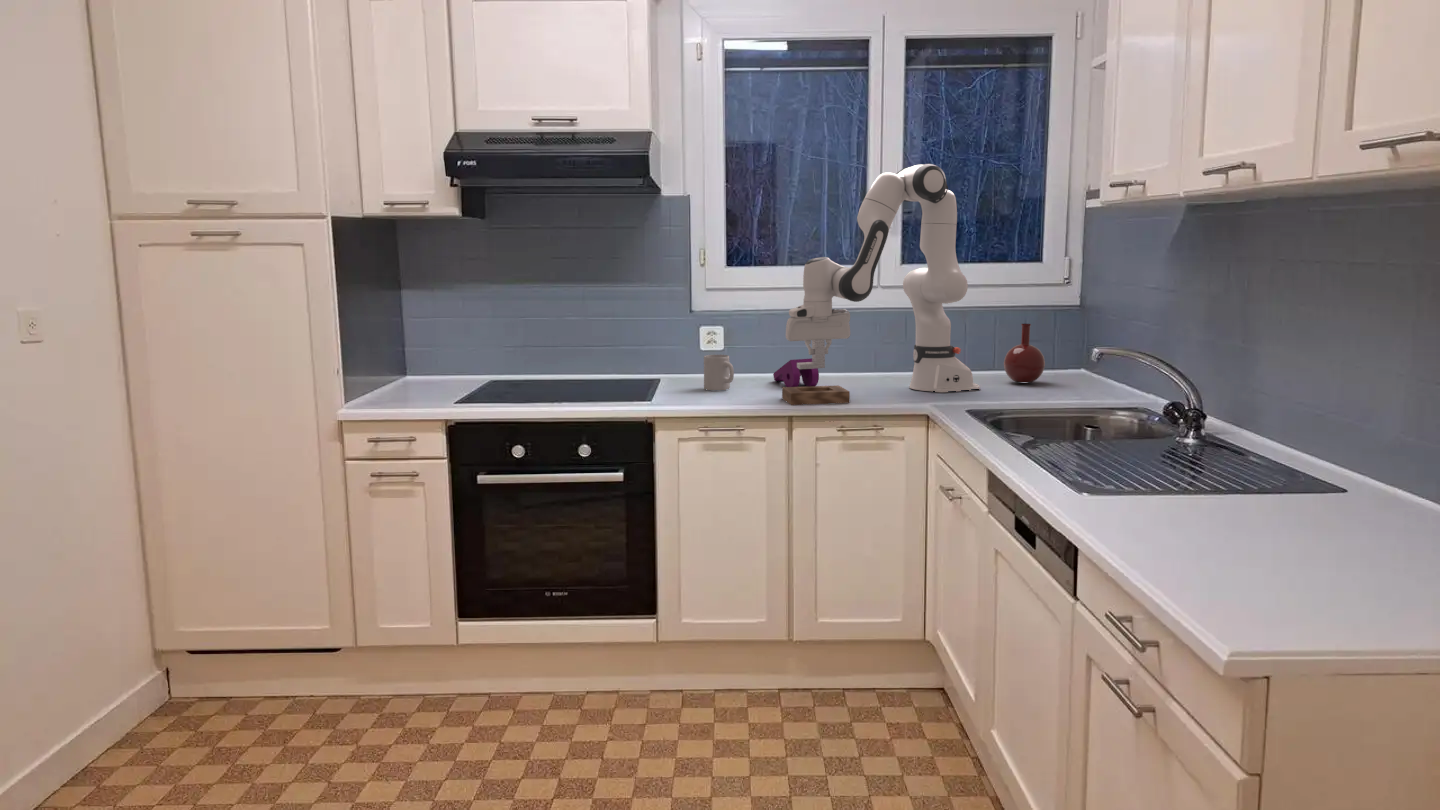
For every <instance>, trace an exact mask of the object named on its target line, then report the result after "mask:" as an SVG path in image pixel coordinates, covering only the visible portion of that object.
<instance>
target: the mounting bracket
mask: <svg viewBox="0 0 1440 810" xmlns="http://www.w3.org/2000/svg"><path fill="white" fill-rule="evenodd" d="M803 362H812V357H811V358H799V359H789V360H788V361H787V362H786V363H785V364H783V365H782V366H781V367H779V368H778V369H777V370H776V371H775V372H773V375H772V376H773V380H774V382H776V381H779V382H783V383H784V386H785V387H799V385H800V381H801V380H802V383H803V385H804V386H805V385H806V386H805V387H807V386H818V383H819V379H820V373H819V368H815V369H799V368H797V363H803Z"/></svg>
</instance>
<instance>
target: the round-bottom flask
mask: <svg viewBox="0 0 1440 810" xmlns="http://www.w3.org/2000/svg"><path fill="white" fill-rule="evenodd" d="M1020 324H1021V337H1020V338H1021V340H1020V344H1017V345H1015V346H1013V347H1012V348H1011V349H1009V350H1008V351H1007V352H1006V355H1005V357H1004V358H1003V359H1004V361H1003V367H1004V372H1005V374H1006V375H1007V376H1008V378H1009V379H1010V380H1012V381H1014V382H1015V383H1018V382H1031V383H1033V382H1035V381H1037V380H1038V379H1039V378H1040V377H1041V376H1042V375H1043V373H1044V370H1045V367H1046V361H1045V360H1046V359H1045V356H1044V355H1043V353H1042V351H1041V350H1040V349H1039V348H1038V347H1036V346H1034V345H1032V344H1030V336H1031V326H1032V324H1031V323H1020Z"/></svg>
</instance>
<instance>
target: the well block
mask: <svg viewBox="0 0 1440 810" xmlns="http://www.w3.org/2000/svg"><path fill="white" fill-rule="evenodd" d="M781 389H782V390H781V391H782V392H781V393H782V394H781V397H782V398H783V399H782V398H781V399H782V400H784V401H785V402H786V401H787V402H786V403H788V404H789V405H790V404H791V406H802V405H803V404H807V405H829V404H828V403H835V404H850V397H851V396H850V391H849V390H848V389H846V388H844V387H842V386H840V385H839V384H838V385H816V386H798V387H786V386H785V387H784V386H782V388H781ZM803 406H804V405H803Z"/></svg>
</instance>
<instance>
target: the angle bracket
mask: <svg viewBox="0 0 1440 810" xmlns="http://www.w3.org/2000/svg"><path fill="white" fill-rule="evenodd" d="M825 346H826V340H825V339H819V340H811V348H812V349H814V355H811V356H812V357H811V358H812V362H803V363H797V368H799V369H815V368H818V369H825V368H826V362H825V361H826V358H825V357H826V354H825Z"/></svg>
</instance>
